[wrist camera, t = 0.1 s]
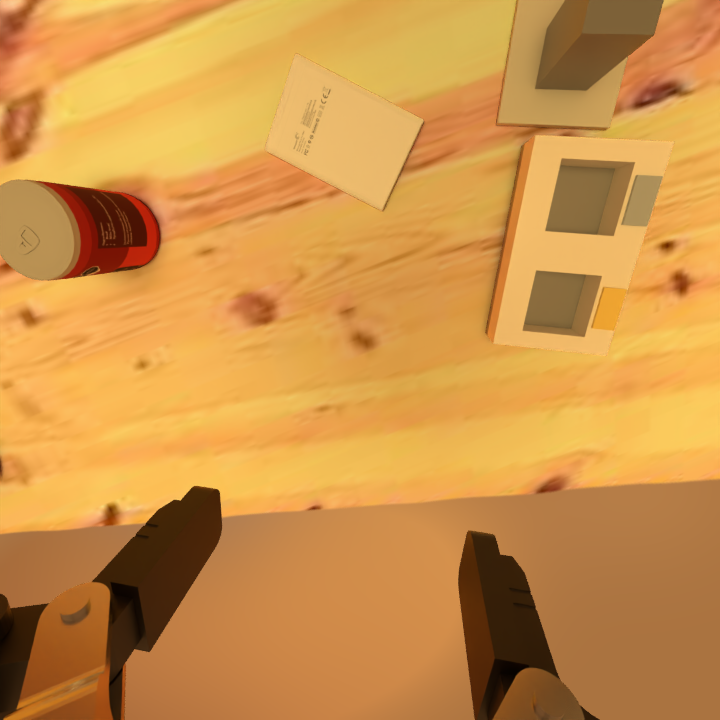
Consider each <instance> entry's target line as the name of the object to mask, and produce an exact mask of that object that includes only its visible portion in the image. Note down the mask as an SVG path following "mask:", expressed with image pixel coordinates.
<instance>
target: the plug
mask: <svg viewBox="0 0 720 720" xmlns="http://www.w3.org/2000/svg"><path fill="white" fill-rule="evenodd" d="M663 1H664V0H565V1H564V3H563V4H562V6H561V7H560V9H559V10H558V12H557V13H556V15H555V17H554V18H553V20H552V21H551V23H550V24H549V26H548V27H547V30H546V35H545V40H544V45H543V50H542V55H541V61H540V66H539V71H538V76H537V81H536V86H535V89H552V90H582V91H586V90H588V89H589V88H590V87H591V86H592V85H594V84H595V83H596V82H597V81H599V80H600V79H601V78H602V77H603V76H605V75H606V74H607V73H608V72H609V71H611V70H612V69H613V68H614V67H616V66H617V65H618V64H619V63H620V62H622V61H623V60H624V59H625V58H626V57H628V56H629V55H630V54H631V53H633V52H634V51H635V50H636V49H637V48H639V47H640V46H641V45H642V44H643V43H645V42H646V41H647V40H648V39H650V38H651V37H652V36H653V35H654V33H655V30H656V26H657V23H658V19H659V15H660V12H661V8H662V4H663Z"/></svg>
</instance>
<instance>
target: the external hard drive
mask: <svg viewBox="0 0 720 720" xmlns="http://www.w3.org/2000/svg"><path fill="white" fill-rule="evenodd" d="M423 123H424V120H423V119H422V118H420V117H418V116H416V115H414V114H412V113H410V112H408V111H406V110H404V109H403V108H401V107H399V106H397V105H395V104H393V103H391V102H389V101H387V100H385V99H383V98H381V97H380V96H378V95H376V94H374V93H372V92H370V91H368V90H366V89H364V88H362V87H360V86H358V85H357V84H355V83H353V82H351V81H349V80H347V79H345V78H343V77H341V76H339V75H337V74H335V73H334V72H332V71H330V70H328V69H326V68H324V67H322V66H320V65H318V64H316V63H314V62H312V61H310V60H308V59H307V58H305V57H303V56H301V55H299V54H297V53H296V54H295V56H294V59H293V62H292V65H291V68H290V71H289V74H288V77H287V81H286V84H285V87H284V90H283V93H282V96H281V99H280V102H279V105H278V108H277V111H276V114H275V117H274V121H273V123H272V127H271V130H270V133H269V136H268V139H267V142H266V146H265V151H267V152H268V153H270V154H272V155H274V156H276V157H278V158H280V159H282V160H284V161H286V162H288V163H289V164H291V165H293V166H295V167H297V168H299V169H301V170H303V171H305V172H307V173H309V174H311V175H312V176H314V177H316V178H318V179H320V180H322V181H324V182H326V183H328V184H330V185H332V186H334V187H336V188H338V189H340V190H342V191H343V192H345V193H347V194H349V195H351V196H353V197H355V198H357V199H359V200H361V201H363V202H365V203H367V204H369V205H371V206H373V207H375V208H377V209H379V210H380V211H383V210H384V208H385V206H386V203H387V201H388V199H389V197H390V195H391V193H392V190H393V188H394V186H395V184H396V182H397V180H398V177H399V175H400V173H401V171H402V169H403V167H404V164H405V162H406V160H407V158H408V156H409V154H410V151H411V149H412V147H413V145H414V143H415V141H416V138H417V136H418V134H419V132H420V130H421V128H422V126H423Z"/></svg>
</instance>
